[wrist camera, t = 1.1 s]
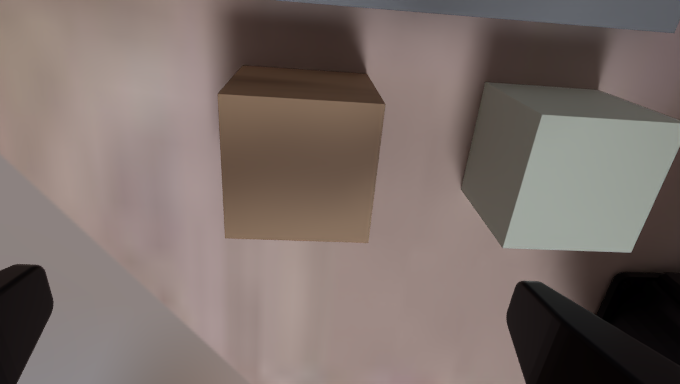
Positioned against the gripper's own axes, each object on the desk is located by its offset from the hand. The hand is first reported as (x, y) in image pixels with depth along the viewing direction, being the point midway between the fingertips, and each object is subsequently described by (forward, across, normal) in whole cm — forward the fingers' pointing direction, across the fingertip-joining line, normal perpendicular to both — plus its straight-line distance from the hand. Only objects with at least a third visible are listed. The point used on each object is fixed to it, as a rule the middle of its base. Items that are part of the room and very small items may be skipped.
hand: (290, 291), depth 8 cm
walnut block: (+11, 0, 0) cm, 11 cm away
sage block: (+11, -10, 0) cm, 15 cm away
